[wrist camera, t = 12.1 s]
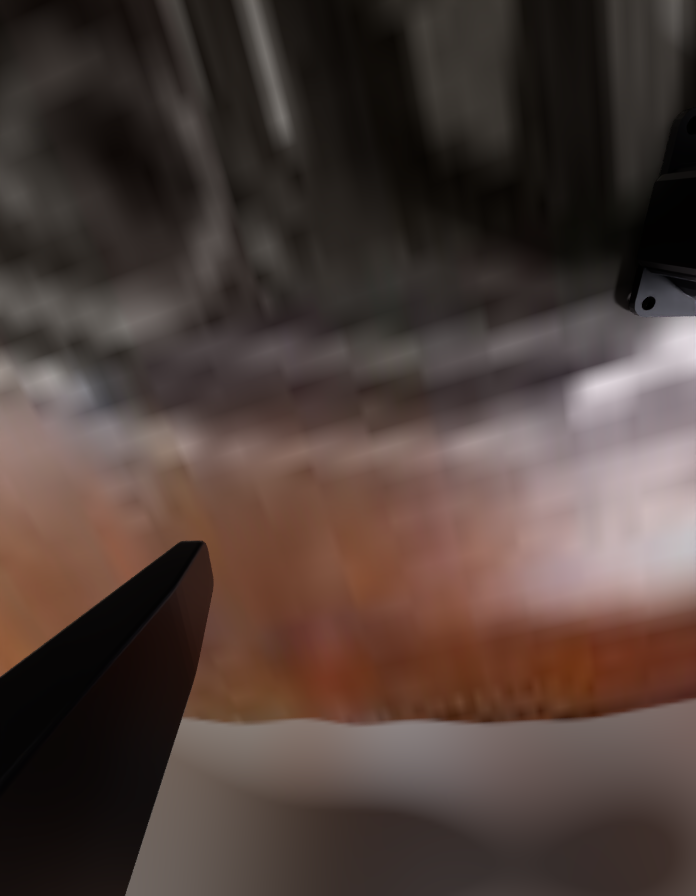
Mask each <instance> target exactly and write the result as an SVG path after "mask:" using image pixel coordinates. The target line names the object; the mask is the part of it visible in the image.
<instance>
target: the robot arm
mask: <svg viewBox="0 0 696 896" xmlns="http://www.w3.org/2000/svg"><path fill="white" fill-rule="evenodd" d="M691 118H692V119H693V120H694V122H695V128H694V130H693V132H692V133H691V134H689V133H688V132H687V124H688V122H689V120H690V119H691ZM637 260H638V262H639V264H638V268H637V272H636V276H635V280H634V284H633V289H632V293H631V297H630V301H629V308H630V311H631V312H632V313H634V314H635V315H638V316H642V317H672V316H696V107H695V108H691V109H688V110H685V111H683V112H682V113H681V114H679V115H678V117H677V118H676V119H675V120H674V123H673V125H672V127H671V131H670V136H669V140H668V144H667V148H666V152H665V156H664V160H663V165H662V169H661V173H660V177H659V179H658V180H657V181H656V182H655V184H654V187H653V191H652V195H651V199H650V204H649V208H648V212H647V216H646V220H645V225H644V229H643V233H642V237H641V241H640V246H639V250H638V254H637ZM646 297H649V303H648V305H647V306H646V307H644V308H642V302H643V300H644V299H645V298H646ZM212 592H213V574H212V568H211V563H210V558H209V553H208V548H207V545H206V543H205V542H203V541H181V542H179V543H178V544H176V545H175V546H174V547H172V548H171V549H170V550H168V551H167V552H166V553H164V554H163V555H162V556H160V557H159V558H158V559H156V560H155V561H154V562H152V563H151V564H150V565H148V566H147V567H146V568H144V569H143V570H142V571H140V572H139V573H138V574H136V575H135V576H134V577H132V578H131V579H130V580H128V581H127V582H126V583H124V584H123V585H122V586H120V587H119V588H118V589H116V590H115V591H114V592H112V593H111V594H110V595H108V596H107V597H106V598H104V599H103V600H102V601H100V602H99V603H98V604H96V605H95V606H94V607H93V608H91V609H90V610H89V611H87V612H86V613H85V614H83V615H82V616H81V617H79V618H78V619H77V620H75V621H74V622H73V623H71V624H70V625H69V626H67V627H66V628H65V629H63V630H62V631H61V632H59V633H58V634H57V635H55V636H54V637H53V638H51V639H50V640H49V641H47V642H46V643H45V644H43V645H42V646H41V647H39V648H38V649H37V650H35V651H34V652H33V653H31V654H30V655H29V656H27V657H26V658H25V659H23V660H22V661H21V662H19V663H18V664H17V665H15V666H14V667H13V668H11V669H10V670H9V671H7V672H6V673H5V674H3V675H2V676H1V677H0V896H125V894H126V891H127V888H128V885H129V882H130V879H131V875H132V872H133V869H134V866H135V863H136V860H137V857H138V854H139V851H140V847H141V844H142V841H143V838H144V835H145V832H146V829H147V826H148V822H149V819H150V816H151V813H152V810H153V807H154V804H155V801H156V797H157V794H158V791H159V788H160V785H161V782H162V779H163V776H164V773H165V769H166V766H167V763H168V760H169V757H170V753H171V751H172V747H173V745H174V741H175V738H176V735H177V732H178V729H179V726H180V723H181V720H182V716H183V713H184V710H185V707H186V704H187V701H188V698H189V695H190V692H191V688H192V685H193V682H194V678H195V675H196V671H197V666H198V662H199V657H200V652H201V647H202V642H203V637H204V632H205V627H206V622H207V617H208V612H209V607H210V602H211V597H212Z"/></svg>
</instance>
